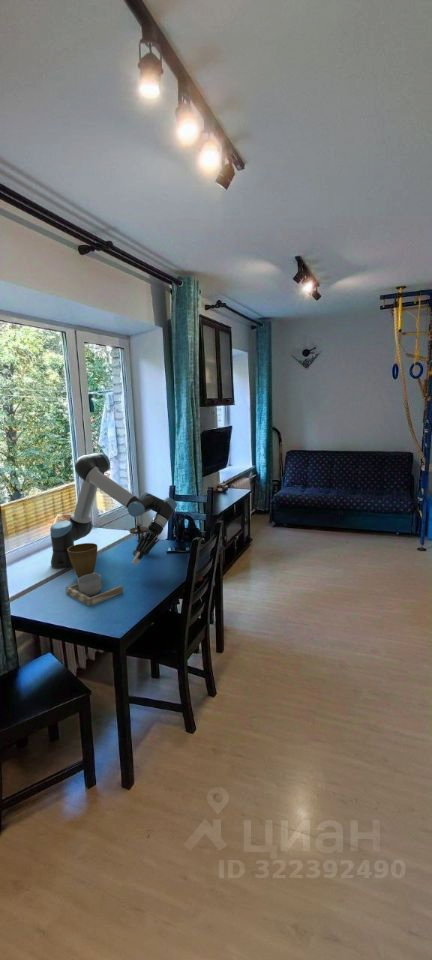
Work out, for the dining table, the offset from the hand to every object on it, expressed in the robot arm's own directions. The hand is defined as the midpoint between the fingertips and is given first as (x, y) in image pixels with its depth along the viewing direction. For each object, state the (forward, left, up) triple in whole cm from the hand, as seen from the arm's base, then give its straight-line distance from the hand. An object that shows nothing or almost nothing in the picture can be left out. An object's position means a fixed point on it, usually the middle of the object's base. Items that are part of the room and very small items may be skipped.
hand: (133, 564), depth 228 cm
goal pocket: (-1, -22, -7) cm, 23 cm away
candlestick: (-29, +25, -8) cm, 39 cm away
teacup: (-3, -23, -8) cm, 24 cm away
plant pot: (-23, -15, -8) cm, 28 cm away
